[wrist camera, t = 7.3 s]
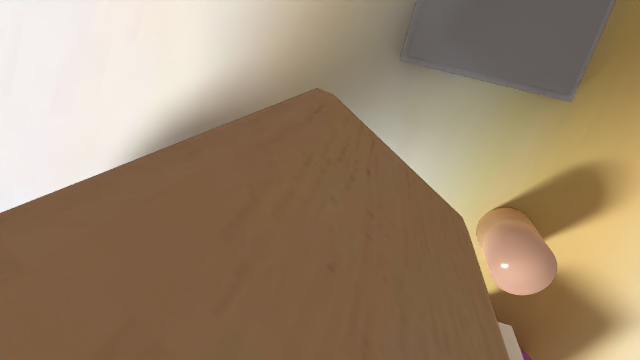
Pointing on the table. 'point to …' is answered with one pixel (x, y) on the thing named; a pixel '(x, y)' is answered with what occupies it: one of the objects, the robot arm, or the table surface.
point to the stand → (509, 41)
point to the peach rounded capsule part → (515, 252)
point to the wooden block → (248, 253)
